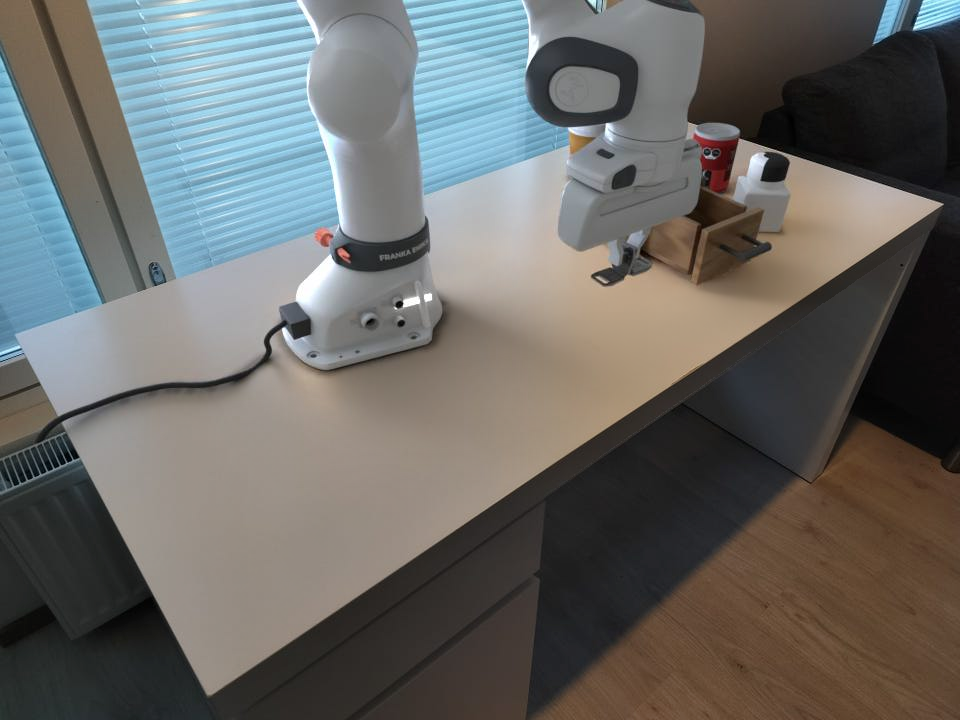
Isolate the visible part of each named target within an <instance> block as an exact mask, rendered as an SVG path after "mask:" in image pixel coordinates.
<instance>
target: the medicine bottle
mask: <svg viewBox="0 0 960 720" xmlns="http://www.w3.org/2000/svg"><path fill="white" fill-rule="evenodd" d="M790 165H791V161H790V160H789V158H788V157H787V156H785V155H783V154H782V153H779V152H774V151H761V152H757V153H754V154H753V155H752V156H751V157H750V160H749V165H748V169H747V173H746V175H739V176H738V177H737V181H736V185H735V188H734V194H733V196H732V197H733V198H732V200H735V201H737V202H739V203H741V204H744V205H746V206H747V209H746V211H749V210H751V209H754V208H756V207H759V208H762V209H764V213H763V216H762V220H761V224H760V227H759V231H758V233H780V232H781V229H782V226H783V223H784V220H785V217H786V212H787V209H788V205H789V202H790V198H791V193H790V190H789V189H788V188H787V186H786V184H785V183H786V178H787V175H788V172H789V168H790Z"/></svg>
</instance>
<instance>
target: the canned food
mask: <svg viewBox="0 0 960 720" xmlns="http://www.w3.org/2000/svg"><path fill="white" fill-rule="evenodd" d="M740 137H741V130H740V129H739V128H738V127H736V126H734V125H731V124H728V123H722V122H705V123H700V124H698V125H696V126H695V129H694V133H693V137H692V139H695V140H696V141H697V142H698V143H699V144H700V146H701V147H702V154H701V158H700V161H701V165H702V175H703V176H706V180H705V186H704V187H705V188H707V189H709V190H712V191H714V192H716V193H719V194H721V193H723V192H725V191H726V189H727V188H728V186H729V184H730V180H731V175H732V170H733V166H734V163H735V159H736V154H737V150H738V145H739V141H740Z"/></svg>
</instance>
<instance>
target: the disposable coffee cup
mask: <svg viewBox="0 0 960 720" xmlns="http://www.w3.org/2000/svg"><path fill="white" fill-rule="evenodd" d="M605 128H606V124H601V125H593V126H583V127H567V130H568V140H569V157H570V156H571V155H573V154H574V153H576V152H577V151H579V150H580V149H582V148H583V147H585V146H586V145H588V144H589V143H590V142H592V141H593V140H594V139H595V138H596V137H597V136H599V135H600V134H601V133H603V132H605ZM571 178H572V176H571V175H570V179H571Z"/></svg>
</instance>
